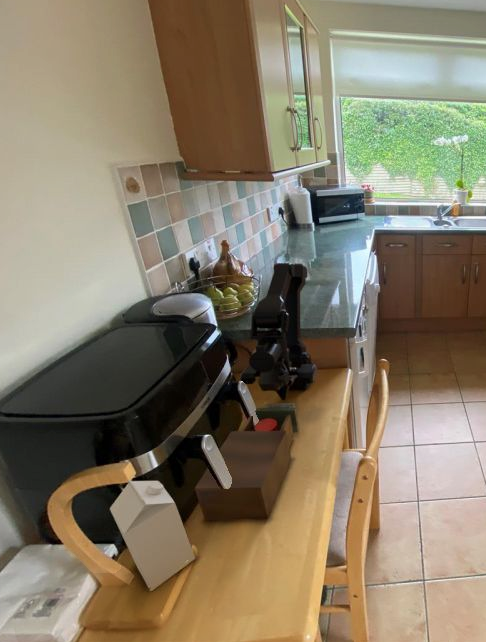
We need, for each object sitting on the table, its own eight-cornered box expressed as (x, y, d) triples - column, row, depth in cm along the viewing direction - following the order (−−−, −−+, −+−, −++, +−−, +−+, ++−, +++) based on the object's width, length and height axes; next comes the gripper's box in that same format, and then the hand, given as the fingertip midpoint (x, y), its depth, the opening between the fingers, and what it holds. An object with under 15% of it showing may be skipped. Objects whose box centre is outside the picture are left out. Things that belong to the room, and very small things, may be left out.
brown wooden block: (238, 460, 90) (231, 431, 86) (291, 459, 90) (286, 430, 87) (205, 520, 76) (194, 488, 72) (268, 519, 76) (260, 487, 72)
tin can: (262, 435, 95) (259, 418, 93) (282, 435, 95) (279, 418, 93) (255, 450, 90) (251, 432, 88) (275, 449, 91) (272, 432, 88)
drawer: (262, 418, 102) (258, 396, 99) (304, 417, 103) (301, 396, 100) (230, 475, 85) (224, 451, 82) (281, 474, 85) (276, 450, 82)
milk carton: (151, 592, 63) (115, 516, 56) (136, 566, 67) (101, 491, 60) (195, 559, 69) (168, 485, 61) (179, 536, 72) (152, 463, 65)
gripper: (224, 367, 89) (237, 419, 95) (303, 367, 90) (310, 418, 96) (244, 344, 99) (254, 392, 105) (315, 344, 100) (321, 392, 106)
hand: (284, 399), depth 103 cm, fingers closed
